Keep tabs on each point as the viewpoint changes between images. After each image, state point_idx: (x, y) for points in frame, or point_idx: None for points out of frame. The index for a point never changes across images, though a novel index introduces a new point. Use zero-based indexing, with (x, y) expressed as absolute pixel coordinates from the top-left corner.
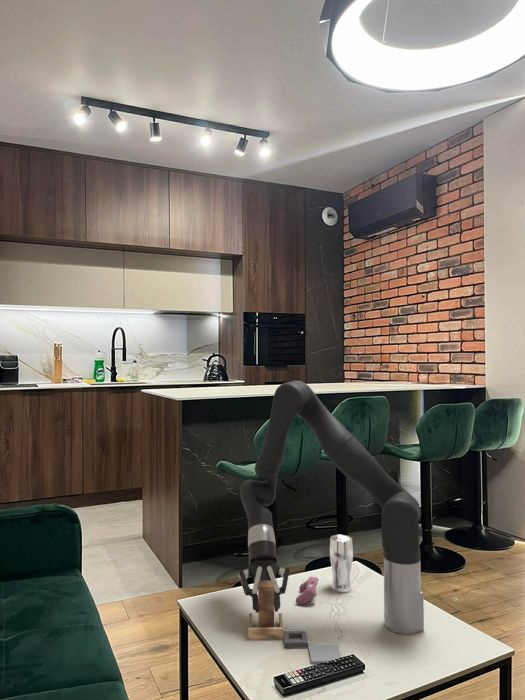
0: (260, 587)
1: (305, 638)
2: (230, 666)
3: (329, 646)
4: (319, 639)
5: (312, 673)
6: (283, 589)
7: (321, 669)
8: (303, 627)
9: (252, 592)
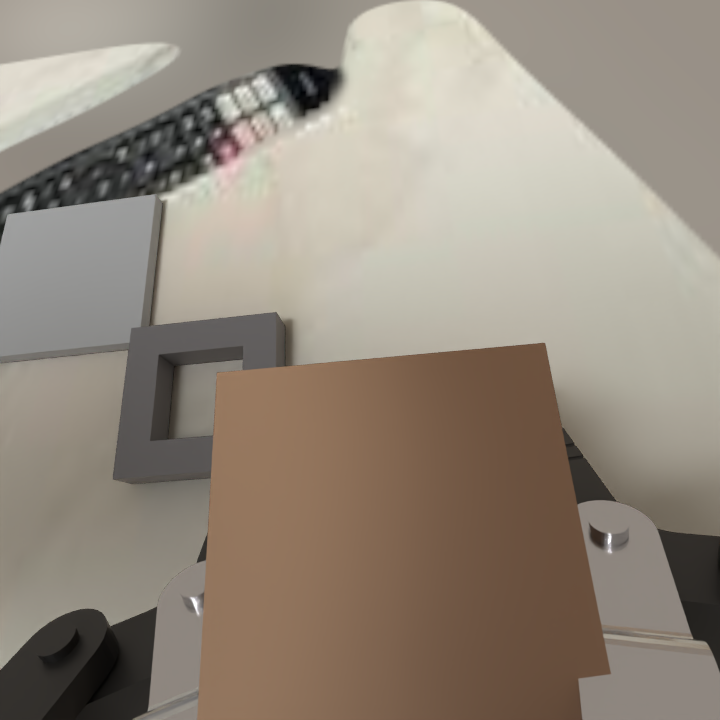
0: (492, 349)
1: (137, 377)
2: (580, 135)
3: (23, 334)
4: (58, 444)
5: (172, 142)
6: (86, 614)
7: (125, 173)
8: (125, 614)
9: (643, 515)
